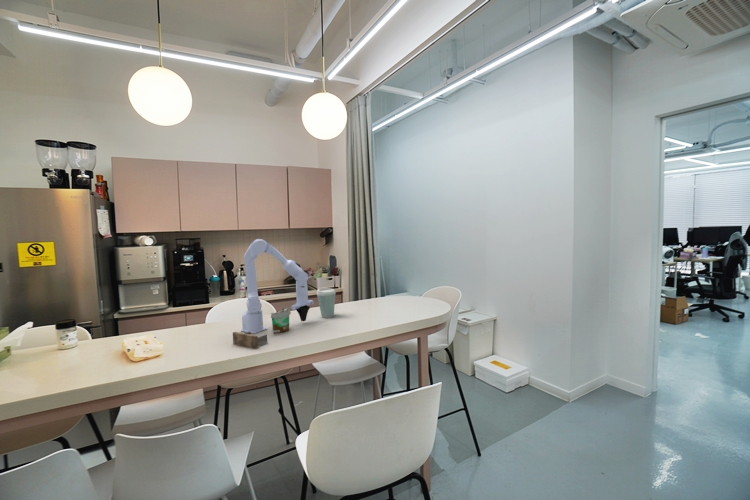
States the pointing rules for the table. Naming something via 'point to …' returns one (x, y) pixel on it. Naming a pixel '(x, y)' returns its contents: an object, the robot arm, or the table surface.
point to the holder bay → (249, 340)
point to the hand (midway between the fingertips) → (303, 320)
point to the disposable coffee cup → (326, 301)
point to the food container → (280, 321)
